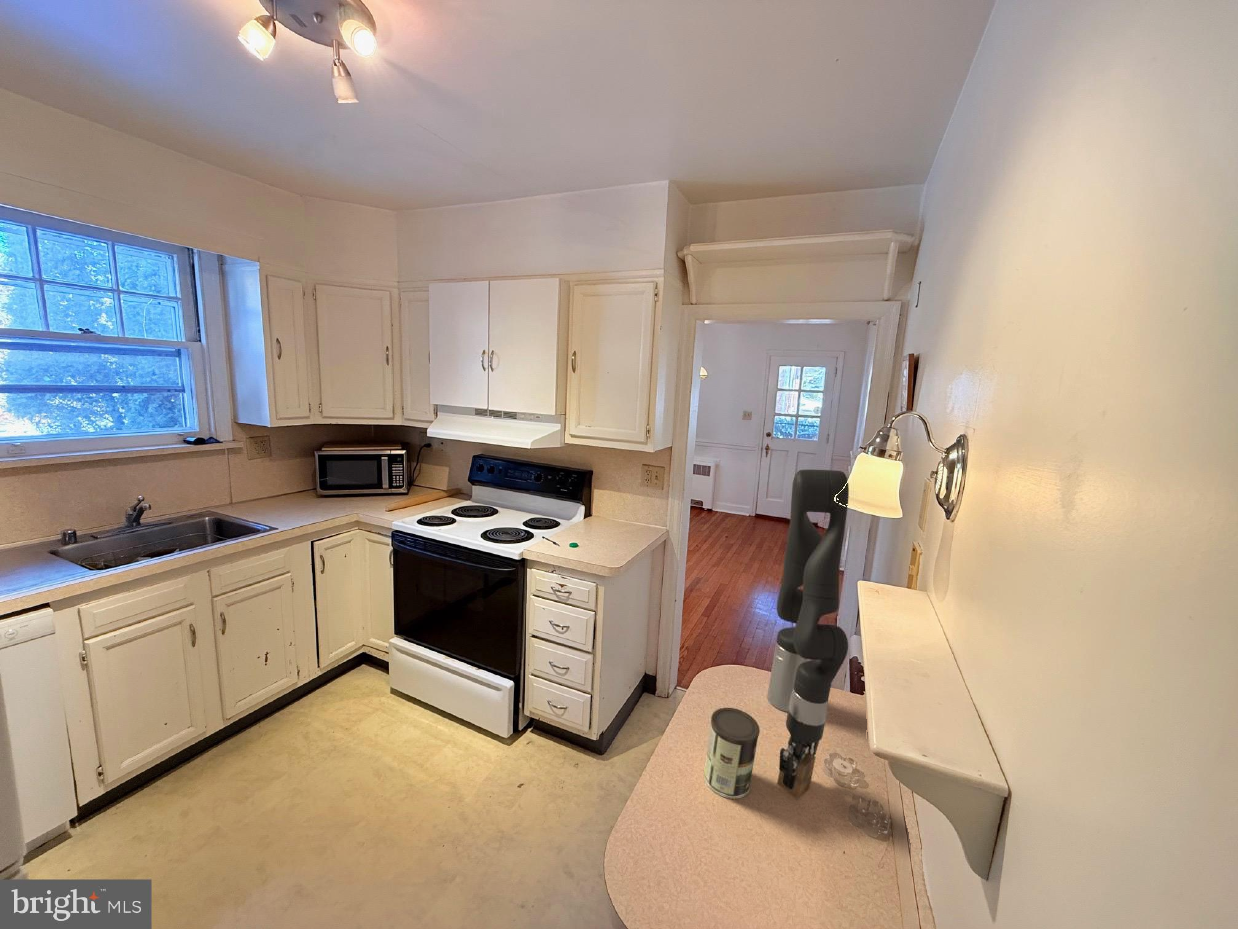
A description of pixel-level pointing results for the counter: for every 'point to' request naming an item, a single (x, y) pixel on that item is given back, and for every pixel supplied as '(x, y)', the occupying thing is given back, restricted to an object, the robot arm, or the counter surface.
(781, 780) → the walnut block
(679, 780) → the counter surface
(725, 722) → the coffee can
